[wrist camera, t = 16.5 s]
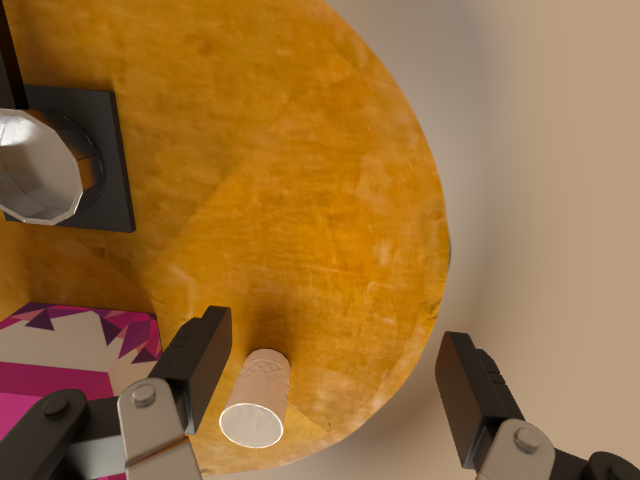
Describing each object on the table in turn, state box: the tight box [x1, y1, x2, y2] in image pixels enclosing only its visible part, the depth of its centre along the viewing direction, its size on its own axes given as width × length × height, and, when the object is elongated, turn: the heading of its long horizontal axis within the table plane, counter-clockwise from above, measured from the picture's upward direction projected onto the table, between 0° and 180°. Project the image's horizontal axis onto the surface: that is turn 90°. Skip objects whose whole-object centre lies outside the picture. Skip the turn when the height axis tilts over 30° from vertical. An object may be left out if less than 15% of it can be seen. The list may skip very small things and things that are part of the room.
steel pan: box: [0, 0, 106, 225], centre depth 36 cm, size 22×12×4 cm, turn 176°
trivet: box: [3, 84, 136, 233], centre depth 40 cm, size 16×16×1 cm
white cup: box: [219, 349, 291, 448], centre depth 47 cm, size 8×8×10 cm
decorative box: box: [0, 302, 162, 480], centre depth 46 cm, size 19×19×15 cm
